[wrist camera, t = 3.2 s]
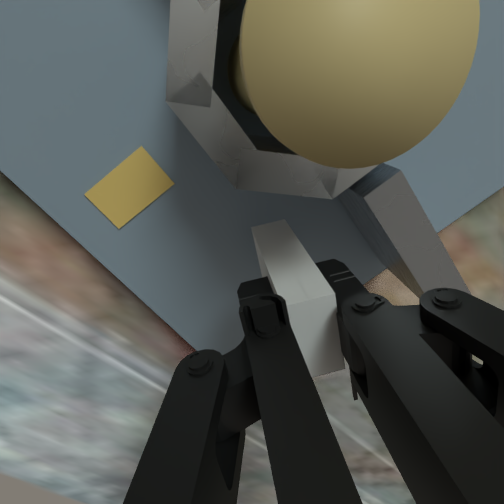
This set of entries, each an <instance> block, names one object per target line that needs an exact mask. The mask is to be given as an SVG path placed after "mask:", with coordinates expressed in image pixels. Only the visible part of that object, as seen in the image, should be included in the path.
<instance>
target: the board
mask: <svg viewBox="0 0 504 504" xmlns="http://www.w3.org/2000/svg"><path fill="white" fill-rule="evenodd" d="M169 18H170V0H0V171H1V172H2V173H4V174H5V175H6V176H7V177H8V178H9V179H10V180H11V181H12V182H13V183H14V184H16V185H17V186H18V187H19V188H20V189H21V190H22V191H23V192H24V193H25V194H26V195H28V196H29V197H30V198H31V199H32V200H33V201H34V202H35V203H36V204H37V205H38V206H40V207H41V208H42V209H43V210H44V211H45V212H46V213H47V214H48V215H49V216H50V217H52V218H53V219H54V220H55V221H56V222H57V223H58V224H59V225H60V226H61V227H62V228H64V229H65V230H66V231H67V232H68V233H69V234H70V235H71V236H72V237H73V238H74V239H76V240H77V241H78V242H79V243H80V244H81V245H82V246H83V247H84V248H85V249H86V250H88V251H89V252H90V253H91V254H92V255H93V256H94V257H95V258H96V259H97V260H98V261H99V262H101V263H102V264H103V265H104V266H105V267H106V268H107V269H108V270H109V271H110V272H111V273H113V274H114V275H115V276H116V277H117V278H118V279H119V280H120V281H121V282H122V283H123V284H125V285H126V286H127V287H128V288H129V289H130V290H131V291H132V292H133V293H134V294H135V295H137V296H138V297H139V298H140V299H141V300H142V301H143V302H144V303H145V304H146V305H147V306H149V307H150V308H151V309H152V310H153V311H154V312H155V313H156V314H157V315H158V316H159V317H161V318H162V319H163V320H164V321H165V322H166V323H167V324H168V325H169V326H170V327H171V328H173V329H174V330H175V331H176V332H177V333H178V334H179V335H180V336H181V337H182V338H183V339H185V340H186V341H187V342H188V343H189V344H190V345H191V346H192V347H193V348H194V349H195V350H197V351H199V350H204V349H213V350H216V351H218V352H220V353H221V354H222V355H224V354H226V353H228V352H230V351H231V350H233V349H235V348H236V347H237V346H238V345H239V344H240V343H241V342H242V340H243V338H244V336H245V335H244V331H243V327H242V324H241V320H240V316H239V307H240V304H239V299H238V294H237V290H238V288H239V286H240V284H241V283H242V282H246V281H250V280H254V279H258V278H262V274H261V269H260V265H259V260H258V256H257V251H256V247H255V243H254V238H253V234H252V229H251V227H254V226H258V225H262V224H267V223H271V222H275V221H279V220H283V219H285V220H286V222H287V223H288V225H289V226H290V228H291V229H292V231H293V232H294V234H295V235H296V237H297V238H298V240H299V241H300V242H301V244H302V245H303V247H304V248H305V250H306V251H307V253H308V254H309V256H310V257H311V259H312V260H313V262H314V263H318V262H322V261H326V260H330V259H336V260H338V261H340V262H343V263H344V264H345V265H346V266H347V267H348V268H349V269H350V271H351V272H352V273H353V274H354V276H355V277H356V278H357V279H358V280H359V281H360V282H361V284H362V285H364V284H365V283H366V282H368V281H369V280H371V279H372V278H374V277H375V276H376V275H378V274H379V273H381V272H382V271H384V270H385V269H386V267H385V266H384V265H383V264H382V263H381V262H380V260H379V259H378V257H377V256H376V254H375V253H374V251H373V250H372V248H371V247H370V245H369V244H368V242H367V241H366V239H365V238H364V236H363V235H362V233H361V232H360V231H359V229H358V228H357V226H356V225H355V223H354V222H353V220H352V219H351V217H350V216H349V214H348V213H347V211H346V210H345V208H344V207H343V205H342V204H341V202H340V201H339V199H338V198H337V196H336V197H335V198H334V199H324V198H315V197H305V196H296V195H287V194H277V193H268V192H258V191H249V190H239V189H235V188H234V186H233V185H232V184H231V183H230V181H229V180H228V179H227V178H226V176H225V175H224V174H223V173H222V171H221V170H220V169H219V168H218V166H217V165H216V164H215V163H214V161H213V160H212V159H211V158H210V156H209V155H208V154H207V153H206V151H205V150H204V149H203V148H202V146H201V145H200V144H199V143H198V141H197V140H196V139H195V138H194V136H193V135H192V134H191V133H190V131H189V130H188V129H187V128H186V126H185V125H184V124H183V123H182V121H181V120H180V119H179V118H178V116H177V115H176V114H175V113H174V111H173V110H172V109H171V108H170V106H169V105H168V104H167V103H166V80H167V60H168V39H169ZM212 89H213V90H214V91H215V93H216V94H217V96H218V97H219V98H220V100H221V101H222V102H223V104H224V105H225V106H226V108H227V109H228V111H229V112H230V113H231V115H232V116H233V117H234V119H235V120H236V121H237V123H238V124H239V126H240V127H241V128H242V130H243V131H244V132H245V133H246V134H253V135H261V136H269V137H275V138H276V139H277V140H279V141H280V142H281V143H282V144H283V145H285V146H286V147H288V148H289V149H290V150H292V151H293V152H295V153H297V154H298V155H300V156H302V157H304V158H306V159H308V160H310V161H312V162H315V163H318V164H321V165H324V166H328V167H334V168H344V169H355V168H365V167H370V166H374V165H378V164H381V163H385V164H387V165H390V166H392V167H395V168H397V169H400V170H401V171H402V172H403V174H404V176H405V178H406V179H407V181H408V183H409V185H410V187H411V188H412V190H413V192H414V194H415V195H416V197H417V199H418V201H419V203H420V204H421V206H422V208H423V210H424V211H425V213H426V215H427V217H428V219H429V220H430V222H431V224H432V226H433V227H434V229H435V231H436V233H438V232H439V231H441V230H442V229H444V228H445V227H446V226H448V225H449V224H451V223H452V222H454V221H455V220H456V219H458V218H459V217H461V216H462V215H463V214H465V213H466V212H468V211H469V210H471V209H472V208H473V207H475V206H476V205H478V204H479V203H481V202H482V201H483V200H485V199H486V198H488V197H489V196H491V195H492V194H493V193H495V192H496V191H498V190H499V189H501V188H502V187H503V186H504V0H244V1H243V2H242V3H241V4H240V5H239V6H237V7H236V8H235V9H234V10H233V11H232V12H231V13H229V14H228V15H227V16H226V17H225V18H224V19H223V20H221V21H220V22H219V23H218V29H217V40H216V51H215V62H214V73H213V85H212Z"/></svg>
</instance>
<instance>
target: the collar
mask: <svg viewBox="0 0 504 504" xmlns="http://www.w3.org/2000/svg"><path fill="white" fill-rule="evenodd" d="M243 1H244V0H170V18H169V39H168V60H167V80H166V103H167V104H168V105H169V106H170V108H171V109H172V110H173V111H174V113H175V114H176V115H177V116H178V118H179V119H180V120H181V121H182V123H183V124H184V125H185V126H186V128H187V129H188V130H189V131H190V133H191V134H192V135H193V136H194V138H195V139H196V140H197V141H198V143H199V144H200V145H201V146H202V148H203V149H204V150H205V151H206V153H207V154H208V155H209V156H210V158H211V159H212V160H213V161H214V163H215V164H216V165H217V166H218V168H219V169H220V170H221V171H222V173H223V174H224V175H225V176H226V178H227V179H228V180H229V181H230V183H231V184H232V185H233V186H234V188H235V189H239V190H249V191H258V192H268V193H277V194H287V195H296V196H305V197H315V198H324V199H334V198H335V197H336V196H337V198H338V199H339V201H340V202H341V204H342V205H343V207H344V208H345V210H346V211H347V213H348V214H349V216H350V217H351V219H352V220H353V222H354V223H355V225H356V226H357V228H358V229H359V231H360V232H361V233H362V235H363V236H364V238H365V239H366V241H367V242H368V244H369V245H370V247H371V248H372V250H373V251H374V253H375V254H376V256H377V257H378V259H379V260H380V262H381V263H382V264H383V265H384V266H385V267H386V268H387V269H388V270H389V271H391V272H392V273H393V274H394V275H395V276H396V277H397V278H398V279H399V280H400V281H401V282H402V283H403V284H404V285H405V286H407V287H408V288H409V289H410V290H411V291H412V292H413V293H414V294H415V295H416V296H417V297H418V298H419V299H420V297H421V295H422V294H423V293H425V292H426V291H428V290H432V289H435V288H452V289H458V290H460V291H463V292H466V293H468V294H470V295H471V293H470V291H469V290H468V288H467V286H466V284H465V283H464V281H463V279H462V277H461V275H460V274H459V272H458V270H457V268H456V267H455V265H454V263H453V261H452V259H451V258H450V256H449V254H448V252H447V251H446V249H445V247H444V245H443V243H442V242H441V240H440V238H439V236H438V235H437V233H436V231H435V229H434V227H433V226H432V224H431V222H430V220H429V219H428V217H427V215H426V213H425V211H424V210H423V208H422V206H421V204H420V203H419V201H418V199H417V197H416V195H415V194H414V192H413V190H412V188H411V187H410V185H409V183H408V181H407V179H406V178H405V176H404V174H403V172H402V171H401V170H400V169H397V168H395V167H392V166H390V165H387V164H385V163H381V164H378V165H374V166H370V167H365V168H355V169H344V168H334V167H328V166H324V165H321V164H318V163H315V162H312V161H310V160H308V159H306V158H304V157H302V156H300V155H298V154H297V153H295V152H293V151H292V150H290V149H289V148H288V147H286V146H285V145H283V144H282V143H281V142H280V141H279V140H277V139H276V138H275V137H269V136H261V135H253V134H246V133H245V132H244V131H243V130H242V128H241V127H240V126H239V124H238V123H237V121H236V120H235V119H234V117H233V116H232V115H231V113H230V112H229V111H228V109H227V108H226V106H225V105H224V104H223V102H222V101H221V100H220V98H219V97H218V96H217V94H216V93H215V91H214V90H213V89H212V85H213V73H214V62H215V51H216V40H217V29H218V23H219V22H220V21H221V20H223V19H224V18H225V17H226V16H227V15H228V14H229V13H231V12H232V11H233V10H234V9H235V8H236V7H237V6H239V5H240V4H241V3H242V2H243Z"/></svg>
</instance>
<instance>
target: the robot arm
mask: <svg viewBox="0 0 504 504" xmlns="http://www.w3.org/2000/svg"><path fill="white" fill-rule="evenodd" d="M251 229H252V234H253V238H254V243H255V247H256V251H257V256H258V260H259V265H260V269H261V274H262V278H258V279H254V280H250V281H246V282H242V283H241V284H240V286H239V288H238V290H237V294H238V299H239V304H240V307H239V316H240V320H241V324H242V327H243V331H244V335H245V336H244V338H243V340H242V342H241V343H240V344H239V345H238V346H237V347H236V348H235V349H233V350H231V351H230V352H228V353H226V354H224V355H222V354H221V353H220V352H218V351H216V350H213V349H204V350H199V351H196V352H193V353H191V354H189V355H187V356H186V357H185V358H184V359H183V360H181V361H180V363H179V364H178V366H177V368H176V370H175V372H174V375H173V377H172V380H171V382H170V385H169V388H168V390H167V393H166V395H165V398H164V400H163V403H162V405H161V408H160V410H159V413H158V416H157V418H156V421H155V423H154V426H153V428H152V431H151V433H150V436H149V438H148V441H147V444H146V446H145V449H144V451H143V454H142V456H141V459H140V461H139V464H138V466H137V469H136V472H135V474H134V477H133V479H132V482H131V484H130V487H129V489H128V492H127V495H126V497H125V500H124V502H123V504H236V503H237V495H238V488H239V480H240V472H241V465H242V457H243V450H244V442H245V428H247V427H248V426H250V425H252V424H253V423H255V422H257V421H258V420H260V419H261V420H262V425H263V430H264V435H265V440H266V445H267V450H268V455H269V460H270V465H271V470H272V475H273V480H274V485H275V490H276V495H277V500H278V504H362V501H361V499H360V496H359V494H358V491H357V489H356V486H355V484H354V481H353V479H352V476H351V474H350V471H349V469H348V466H347V464H346V461H345V459H344V457H343V454H342V452H341V449H340V447H339V444H338V442H337V439H336V437H335V434H334V432H333V429H332V427H331V424H330V422H329V419H328V417H327V414H326V412H325V409H324V407H323V404H322V402H321V399H320V397H319V395H318V392H317V390H316V387H315V385H314V382H313V380H312V377H316V376H320V375H324V374H327V373H331V372H335V371H339V370H343V369H345V363H344V357H345V359H346V361H347V363H348V365H349V369H350V377H351V384H352V392H353V397H354V400H357V399H358V397H357V392H358V394H359V396H360V398H361V400H362V401H363V403H364V405H365V407H366V409H367V411H368V413H369V415H370V417H371V418H372V420H373V422H374V424H375V426H376V428H377V430H378V432H379V434H380V435H381V437H382V439H383V441H384V443H385V445H386V447H387V449H388V451H389V453H390V454H391V456H392V458H393V460H394V462H395V464H396V466H397V468H398V470H399V471H400V473H401V475H402V477H403V479H404V481H405V483H406V485H407V487H408V489H409V490H410V492H411V494H412V496H413V498H414V500H415V502H416V504H504V311H503V310H501V309H499V308H497V307H495V306H493V305H491V304H489V303H486V302H484V301H482V300H480V299H478V298H476V297H474V296H472V295H470V294H468V293H466V292H463V291H460V290H458V289H452V288H435V289H432V290H428V291H426V292H425V293H423V294H422V295H421V297H420V299H419V301H420V305H409V306H394V305H392V304H391V303H390V302H389V301H388V300H387V299H386V298H384V297H383V296H381V295H377V294H374V293H369V292H368V291H367V289H366V288H365V287H364V286H363V285H362V284H361V282H360V281H359V280H358V279H357V278H356V277H355V276H354V274H353V273H352V272H351V271H350V269H349V268H348V267H347V266H346V265H345V264H344V263H343V262H340V261H338V260H336V259H330V260H326V261H322V262H318V263H314V262H313V260H312V259H311V257H310V256H309V254H308V253H307V251H306V250H305V248H304V247H303V245H302V244H301V242H300V241H299V240H298V238H297V237H296V235H295V234H294V232H293V231H292V229H291V228H290V226H289V225H288V223H287V222H286V220H285V219H283V220H279V221H275V222H271V223H267V224H262V225H258V226H254V227H251ZM472 354H473V355H474V356H476V357H477V358H479V359H481V360H482V361H483V365H481V364H479V363H477V362H476V361H474V360H473V359H472ZM343 355H344V356H343Z"/></svg>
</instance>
